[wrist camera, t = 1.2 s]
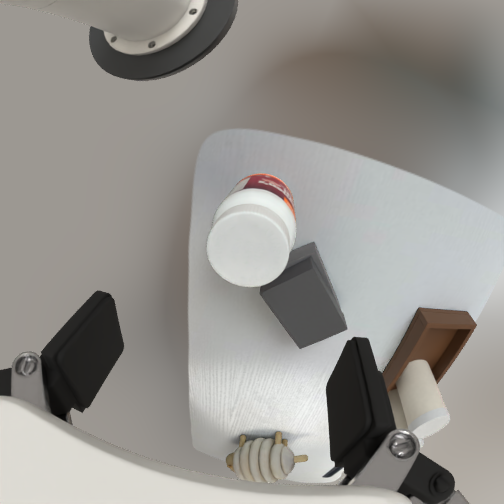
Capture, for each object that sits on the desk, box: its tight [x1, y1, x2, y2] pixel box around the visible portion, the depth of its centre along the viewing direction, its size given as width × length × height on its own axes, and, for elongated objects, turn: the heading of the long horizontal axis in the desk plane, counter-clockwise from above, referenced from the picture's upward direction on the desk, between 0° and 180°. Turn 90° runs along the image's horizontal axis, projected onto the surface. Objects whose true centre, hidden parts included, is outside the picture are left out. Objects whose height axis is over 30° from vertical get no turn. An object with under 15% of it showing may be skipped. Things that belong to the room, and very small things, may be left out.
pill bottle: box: [206, 173, 296, 287], centre depth 22 cm, size 6×6×11 cm
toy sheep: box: [226, 432, 308, 483], centre depth 42 cm, size 11×17×11 cm, turn 116°
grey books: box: [260, 242, 347, 349], centre depth 28 cm, size 9×6×5 cm
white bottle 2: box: [388, 389, 424, 448], centre depth 32 cm, size 6×6×11 cm
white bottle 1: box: [396, 360, 450, 439], centre depth 29 cm, size 6×6×11 cm
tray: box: [382, 308, 477, 393], centre depth 34 cm, size 28×10×3 cm, turn 173°
